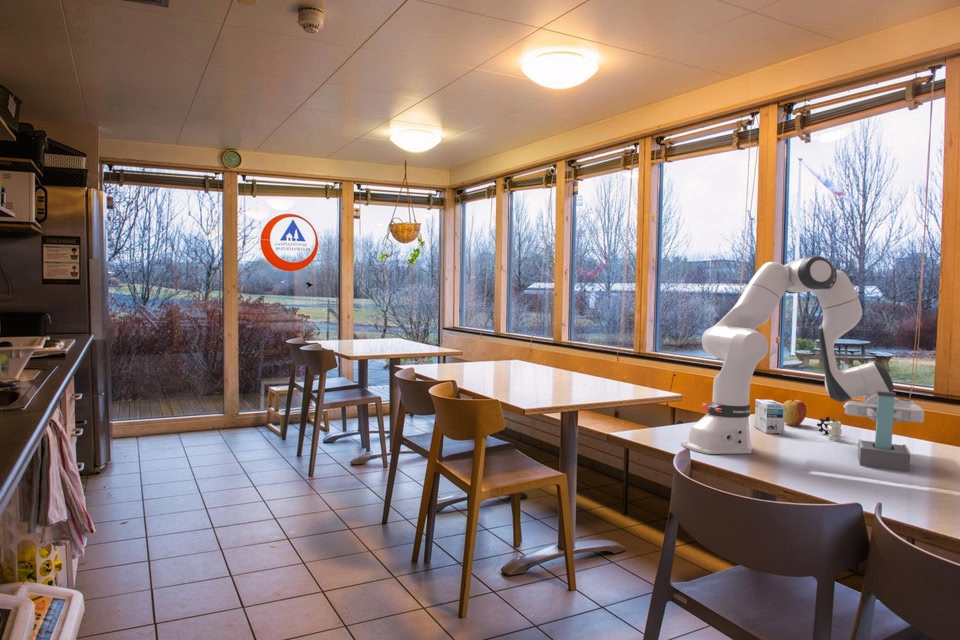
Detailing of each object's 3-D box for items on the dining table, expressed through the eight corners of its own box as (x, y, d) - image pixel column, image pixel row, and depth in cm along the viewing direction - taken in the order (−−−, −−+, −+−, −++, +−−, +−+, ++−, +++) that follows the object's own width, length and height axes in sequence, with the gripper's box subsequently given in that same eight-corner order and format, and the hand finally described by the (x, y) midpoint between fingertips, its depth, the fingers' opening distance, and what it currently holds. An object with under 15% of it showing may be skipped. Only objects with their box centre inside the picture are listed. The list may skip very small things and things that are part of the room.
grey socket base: (909, 475, 180) (910, 453, 180) (859, 468, 186) (860, 447, 185) (904, 465, 191) (905, 444, 190) (857, 459, 196) (858, 439, 196)
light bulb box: (784, 434, 229) (786, 404, 229) (765, 433, 229) (767, 403, 229) (771, 427, 240) (772, 399, 240) (753, 427, 240) (754, 398, 240)
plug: (892, 455, 185) (895, 393, 185) (874, 453, 187) (878, 391, 187) (890, 453, 189) (894, 392, 189) (873, 451, 191) (876, 390, 191)
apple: (804, 428, 241) (805, 402, 240) (777, 425, 245) (779, 399, 245) (807, 424, 248) (808, 398, 248) (781, 421, 253) (782, 396, 253)
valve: (846, 442, 219) (836, 435, 231) (847, 423, 219) (837, 417, 231) (825, 440, 221) (816, 433, 233) (826, 422, 221) (817, 415, 232)
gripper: (843, 394, 204) (844, 400, 192) (920, 401, 194) (927, 408, 182) (842, 414, 204) (843, 421, 192) (919, 422, 195) (926, 430, 182)
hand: (885, 415), depth 187 cm, fingers closed on plug, 4 cm apart
